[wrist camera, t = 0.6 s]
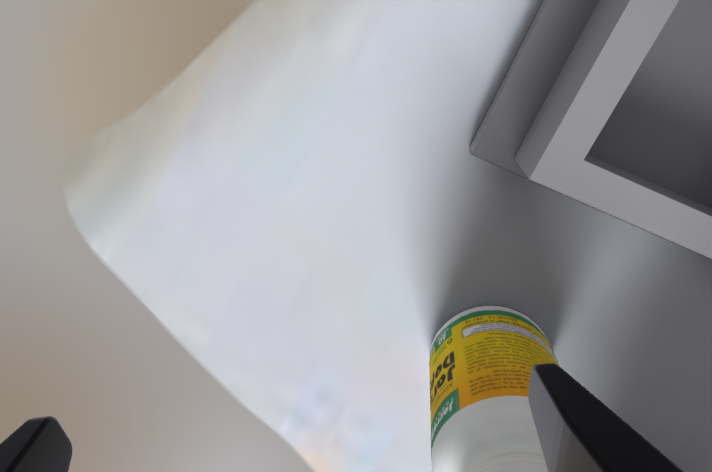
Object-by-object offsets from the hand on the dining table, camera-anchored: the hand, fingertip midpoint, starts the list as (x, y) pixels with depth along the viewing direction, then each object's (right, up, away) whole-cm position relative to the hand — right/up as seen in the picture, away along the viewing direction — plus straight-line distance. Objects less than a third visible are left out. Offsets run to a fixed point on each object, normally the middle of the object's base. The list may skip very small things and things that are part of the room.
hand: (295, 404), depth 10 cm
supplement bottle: (+7, -2, +14) cm, 16 cm away
